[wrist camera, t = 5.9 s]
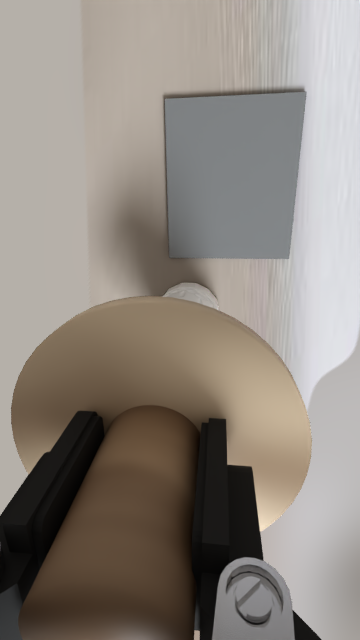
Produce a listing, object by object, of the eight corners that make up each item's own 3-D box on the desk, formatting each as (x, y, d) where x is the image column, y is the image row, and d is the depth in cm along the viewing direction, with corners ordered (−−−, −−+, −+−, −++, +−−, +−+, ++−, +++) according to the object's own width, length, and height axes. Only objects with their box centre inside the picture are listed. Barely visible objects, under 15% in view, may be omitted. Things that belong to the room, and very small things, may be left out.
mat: (288, 258, 33) (288, 258, 33) (169, 257, 35) (169, 257, 34) (305, 92, 28) (306, 91, 28) (165, 99, 30) (164, 98, 29)
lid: (290, 544, 12) (345, 810, 7) (47, 522, 14) (-67, 737, 8) (322, 297, 9) (470, 438, 4) (-1, 294, 10) (-248, 400, 5)
